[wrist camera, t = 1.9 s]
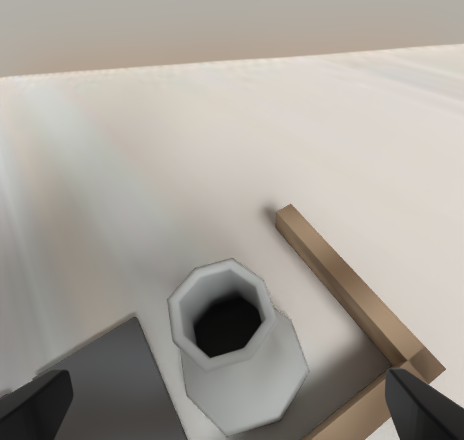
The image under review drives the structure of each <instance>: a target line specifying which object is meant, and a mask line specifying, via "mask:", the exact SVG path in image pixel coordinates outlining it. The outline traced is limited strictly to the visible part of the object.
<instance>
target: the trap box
mask: <svg viewBox="0 0 464 440" xmlns="http://www.w3.org/2000/svg"><path fill="white" fill-rule="evenodd" d="M276 228H277V230H278V231H279V232H280V233H281V234H282V235H283V237H284V238H285V239H286V240H287V241H288V243H289V244H290V245H291V246H292V247H293V248H294V250H295V251H296V252H297V253H298V254H299V255H300V257H301V258H302V259H303V260H304V261H305V263H306V264H307V265H308V266H309V267H310V268H311V270H312V271H313V272H314V273H315V274H316V276H317V277H318V278H319V279H320V280H321V281H322V283H323V284H324V285H325V286H326V287H327V289H328V290H329V291H330V292H331V293H332V294H333V296H334V297H335V298H336V299H337V300H338V301H339V303H340V304H341V305H342V306H343V307H344V309H345V310H346V311H347V312H348V313H349V314H350V316H351V317H352V318H353V319H354V320H355V322H356V323H357V324H358V325H359V326H360V327H361V329H362V330H363V331H364V332H365V333H366V335H367V336H368V337H369V338H370V339H371V340H372V342H373V343H374V344H375V345H376V346H377V347H378V349H379V350H380V351H381V352H382V353H383V355H384V356H385V357H386V358H387V359H388V360H389V362H390V363H391V364H392V366H391V367H390V368H404V369H406V370H407V371H409V372H410V373H412V374H413V375H415V376H416V377H418V378H419V379H421V380H422V381H424V382H425V383H427V384H430V383H431V382H432V381H433V380H434V379H435V378H436V377H438V376H439V375H440V374H441V373H442V372H443V371H445V370H446V368H445V367H444V366H443V365H442V364H441V363H440V362H439V361H438V360H437V359H436V358H435V357H434V356H433V355H432V354H431V353H430V351H429V350H428V349H427V348H426V347H425V346H424V345H423V344H422V343H421V342H420V341H419V340H418V339H417V338H416V337H415V335H414V334H413V333H412V332H411V331H410V330H409V329H408V328H407V327H406V326H405V325H404V324H403V323H402V322H401V321H400V320H399V318H398V317H397V316H396V315H395V314H394V313H393V312H392V311H391V310H390V309H389V308H388V307H387V306H386V305H385V304H384V302H383V301H382V300H381V299H380V298H379V297H378V296H377V295H376V294H375V293H374V292H373V291H372V290H371V289H370V288H369V287H368V285H367V284H366V283H365V282H364V281H363V280H362V279H361V278H360V277H359V276H358V275H357V274H356V273H355V272H354V271H353V269H352V268H351V267H350V266H349V265H348V264H347V263H346V262H345V261H344V260H343V259H342V258H341V257H340V256H339V255H338V254H337V252H336V251H335V250H334V249H333V248H332V247H331V246H330V245H329V244H328V243H327V242H326V241H325V240H324V239H323V238H322V236H321V235H320V234H319V233H318V232H317V231H316V230H315V229H314V228H313V227H312V226H311V225H310V224H309V223H308V222H307V221H306V219H305V218H304V217H303V216H302V215H301V214H300V213H299V212H298V211H297V210H296V209H295V208H294V207H293V206H292V205H291V204H290V205H288V206H286V207H284V208H283V209H281V210H279V211H278V212H277V213H276ZM53 369H67V370H68V371H69V373H70V377H71V382H72V386H73V391H74V396H73V400H72V403H71V405H70V407H69V409H68V411H67V414H66V416H65V418H64V420H63V422H62V424H61V426H60V428H59V430H58V432H57V435H56V437H55V439H54V440H187V437H186V435H185V432H184V430H183V428H182V425H181V423H180V420H179V418H178V415H177V413H176V411H175V408H174V406H173V403H172V401H171V399H170V396H169V394H168V391H167V389H166V386H165V384H164V382H163V379H162V377H161V374H160V372H159V370H158V367H157V365H156V362H155V360H154V358H153V355H152V353H151V350H150V348H149V345H148V343H147V341H146V338H145V336H144V333H143V331H142V329H141V326H140V324H139V321H138V319H137V318H136V317H134V318H132V319H130V320H129V321H127V322H125V323H124V324H122V325H120V326H119V327H117V328H115V329H114V330H112V331H110V332H109V333H107V334H105V335H104V336H102V337H100V338H99V339H97V340H96V341H94V342H92V343H91V344H89V345H87V346H86V347H84V348H82V349H81V350H79V351H77V352H76V353H74V354H72V355H71V356H69V357H67V358H66V359H64V360H62V361H61V362H59V363H57V364H56V365H54V366H52V367H51V368H49V369H47V370H46V371H44V372H42V373H41V374H39V375H37V376H36V377H34V378H33V380H35V379H36V378H38V377H40V376H42V375H43V374H45V373H47V372H49V371H50V370H53ZM386 371H387V370H386ZM386 371H385V372H384V373H382V374H381V375H380V376H379V377H377V378H376V379H375V380H374V381H372V382H371V383H370V384H369V385H368V386H366V387H365V388H364V389H363V390H361V391H360V392H359V393H358V394H356V395H355V396H354V397H353V398H352V399H350V400H349V401H348V402H347V403H345V404H344V405H343V406H342V407H340V408H339V409H338V410H337V411H336V412H334V413H333V414H332V415H331V416H329V417H328V418H327V419H326V420H324V421H323V422H322V423H321V424H320V425H318V426H317V427H316V428H315V429H313V430H312V431H311V432H310V433H308V434H307V435H306V436H305V437H304V438H302V439H301V440H365V439H366V438H367V437H368V436H369V435H371V434H372V433H373V432H374V431H375V430H376V429H377V428H379V427H380V426H381V425H382V424H383V423H384V422H386V421H387V420H388V419H389V418H390V417H391V414H390V412H389V409H388V407H387V404H386V400H385V380H386ZM7 395H9V394H6V395H4V396H3V397H5V396H7ZM3 397H1V398H0V399H2V398H3Z"/></svg>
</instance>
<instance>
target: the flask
mask: <svg viewBox="0 0 464 440" xmlns="http://www.w3.org/2000/svg"><path fill="white" fill-rule="evenodd" d="M167 301H168V309H169V317H170V324H171V332H172V340H173V342H174V343H175V344H176V345H177V346H178V347H179V348H180V351H181V358H182V365H183V372H184V379H185V386H186V393H187V397H188V398H189V399H190V400H191V401H192V402H193V403H194V404H195V405H196V406H197V407H198V408H199V409H200V410H201V411H202V412H203V413H204V414H205V415H206V416H207V417H208V418H209V419H210V420H211V421H212V422H213V423H214V424H215V425H216V426H217V427H218V428H219V429H220V430H221V431H222V432H223V433H224V435H225V436H226V437H229V436H232V435H235V434H238V433H242V432H245V431H248V430H251V429H255V428H258V427H261V426H264V425H267V424H271V423H274V422H277V421H280V420H281V419H282V417H283V416H284V414H285V412H286V410H287V409H288V407H289V405H290V404H291V402H292V400H293V399H294V397H295V395H296V394H297V392H298V390H299V389H300V387H301V385H302V384H303V382H304V380H305V378H306V377H307V375H308V373H309V372H310V371H309V368H308V365H307V362H306V360H305V357H304V354H303V351H302V349H301V346H300V343H299V340H298V337H297V335H296V332H295V329H294V326H293V324H292V321H291V319H289V318H288V317H286V316H285V315H284V314H282V313H281V312H280V311H278V310H277V309H275V308H274V307H273V305H272V302H271V299H270V296H269V293H268V290H267V287H266V285H265V282H264V280H263V279H262V278H260V277H259V276H257V275H256V274H254V273H253V272H252V271H250V270H249V269H247V268H246V267H244V266H243V265H242V264H240V263H239V262H237V261H236V260H234V259H233V258H231V259H227V260H224V261H220V262H216V263H213V264H209V265H205V266H202V267H198V268H195V269H194V270H193V271H192V272H191V273H190V274H189V275H188V277H187V278H186V279H185V280H184V281H183V282H182V283H181V284H180V285H179V287H178V288H177V289H176V290H175V291H174V292H173V293H172V294H171V295H170V297H169V298H168V299H167Z"/></svg>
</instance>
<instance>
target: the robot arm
mask: <svg viewBox="0 0 464 440" xmlns="http://www.w3.org/2000/svg"><path fill="white" fill-rule="evenodd" d="M73 396H74V391H73V386H72V382H71V377H70V373H69V371H68V370H67V369H53V370H50V371H49V372H47V373H45V374H43V375H42V376H40V377H38V378H36V379H35V380H33V381H31V382H29V383H28V384H26V385H24V386H23V387H21V388H19V389H17V390H16V391H14V392H12V393H10V394H9V395H7V396H5V397H3V398H2V399H0V440H54V439H55V437H56V435H57V432H58V430H59V428H60V426H61V424H62V422H63V420H64V418H65V416H66V414H67V411H68V409H69V407H70V405H71V403H72V400H73ZM385 400H386V404H387V407H388V409H389V412H390V414H391V417H392V420H393V422H394V425H395V428H396V430H397V433H398V436H399V438H400V440H464V408H462V407H461V406H459V405H458V404H456V403H455V402H453V401H452V400H450V399H449V398H447V397H446V396H444V395H443V394H441V393H440V392H438V391H437V390H435V389H434V388H433V387H431V386H430V385H428V384H427V383H425V382H424V381H422V380H421V379H419V378H418V377H416V376H415V375H413V374H412V373H410V372H409V371H407V370H406V369H404V368H388V369H387V371H386V380H385Z"/></svg>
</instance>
